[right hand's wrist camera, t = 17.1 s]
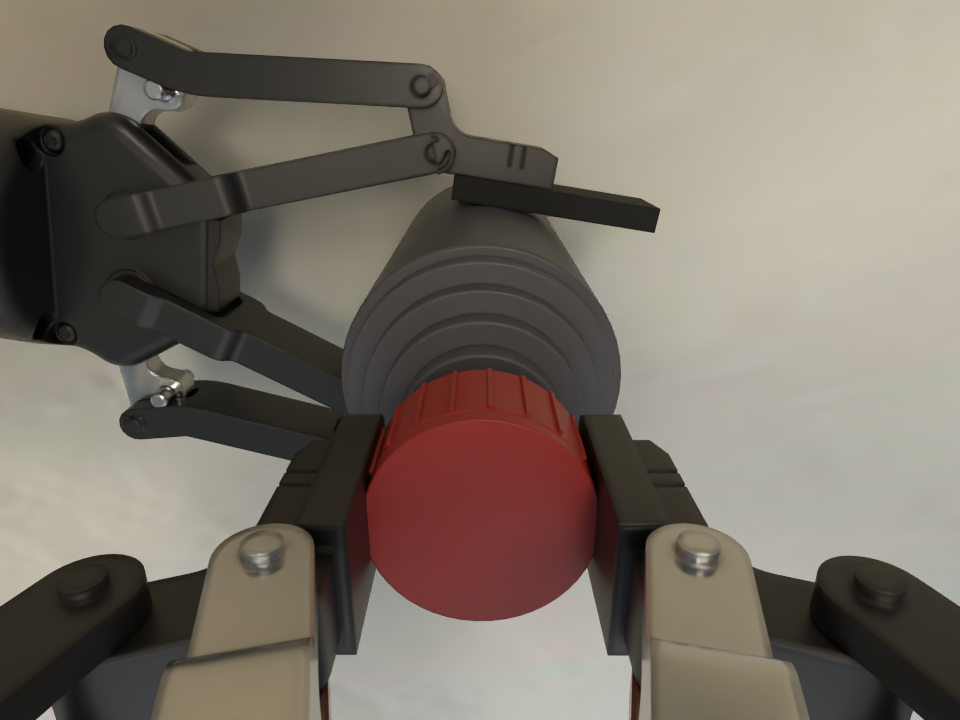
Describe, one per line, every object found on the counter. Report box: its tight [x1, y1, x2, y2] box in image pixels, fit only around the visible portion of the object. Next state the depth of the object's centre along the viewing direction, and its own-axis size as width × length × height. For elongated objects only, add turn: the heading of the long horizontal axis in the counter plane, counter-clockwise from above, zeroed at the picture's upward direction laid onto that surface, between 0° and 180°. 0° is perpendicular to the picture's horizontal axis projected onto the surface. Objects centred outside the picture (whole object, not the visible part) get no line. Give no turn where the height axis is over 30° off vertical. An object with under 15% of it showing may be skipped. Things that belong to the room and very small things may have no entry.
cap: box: [366, 368, 597, 621], centre depth 11 cm, size 4×4×2 cm
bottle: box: [341, 187, 621, 429], centre depth 20 cm, size 7×7×19 cm
